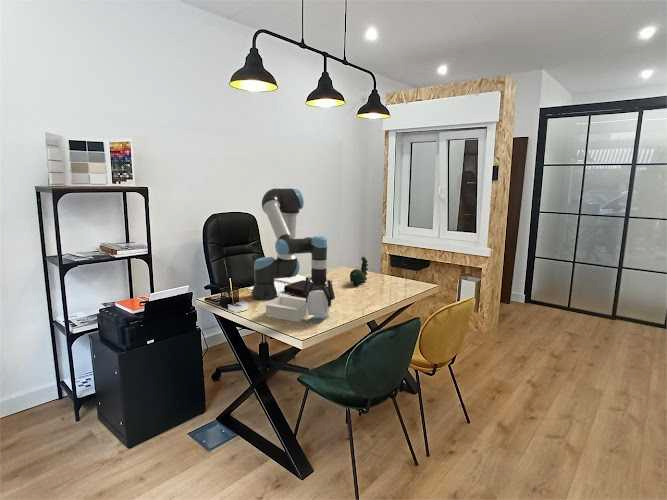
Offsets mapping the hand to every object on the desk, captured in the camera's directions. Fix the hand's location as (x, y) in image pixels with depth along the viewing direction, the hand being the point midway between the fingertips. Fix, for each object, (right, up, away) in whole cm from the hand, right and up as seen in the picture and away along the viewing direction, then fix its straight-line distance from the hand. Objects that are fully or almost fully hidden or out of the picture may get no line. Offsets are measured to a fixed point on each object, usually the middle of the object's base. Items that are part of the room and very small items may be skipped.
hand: (318, 310), depth 200 cm
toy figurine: (+25, +7, +73) cm, 77 cm away
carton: (-16, -3, +5) cm, 17 cm away
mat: (0, -4, +1) cm, 4 cm away
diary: (-8, +3, +48) cm, 49 cm away
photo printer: (0, -2, 0) cm, 2 cm away
